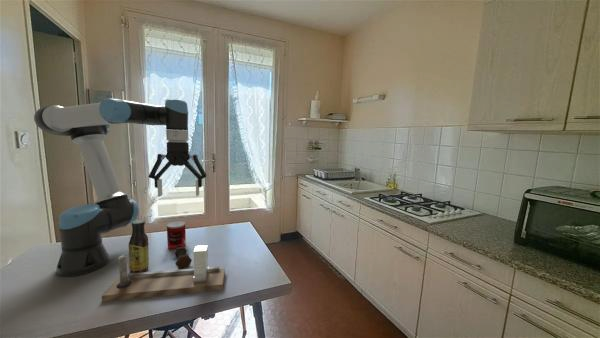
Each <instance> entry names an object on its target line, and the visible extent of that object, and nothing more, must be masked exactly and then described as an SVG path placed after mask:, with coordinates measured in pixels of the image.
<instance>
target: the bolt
mask: <svg viewBox="0 0 600 338" xmlns="http://www.w3.org/2000/svg"><path fill="white" fill-rule="evenodd" d="M173 253H174V254H173V255H174V256H175V257H176V258H177V259H176V261H175V265H176V266H177V268H178V270H181V269H188V268H189V267H190V265H191V263H192V262H193V261H192V260H193V259H192V258H191V256H190V255H189V254H187V253H188V250H187V249H186V248H185V246H184V247H183V246H177V248H176V250H175V251H174V252H173Z"/></svg>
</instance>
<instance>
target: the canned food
mask: <svg viewBox="0 0 600 338" xmlns="http://www.w3.org/2000/svg"><path fill="white" fill-rule="evenodd" d="M186 236H187V235H186V222H185V221H180V220H178V221H171V222H169V223H167V224H166V238H167V242H166V243H167V247H168V249H169V250H172V251H174V250H175V251H176V248H177V246H183V247H184V248H185V246H186V243H187V242H186V241H187V240H186V239H187V238H186Z"/></svg>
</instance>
